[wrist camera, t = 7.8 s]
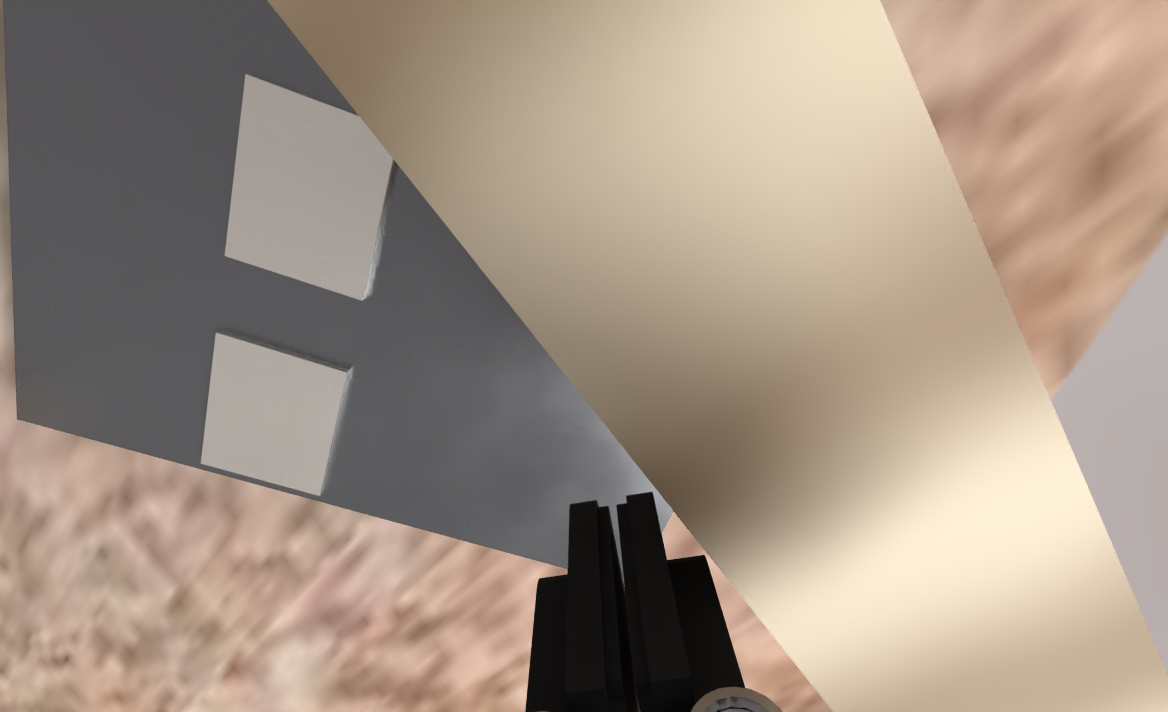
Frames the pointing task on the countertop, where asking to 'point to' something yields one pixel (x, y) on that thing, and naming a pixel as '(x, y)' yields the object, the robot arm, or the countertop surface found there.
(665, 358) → the swing arm
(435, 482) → the label board
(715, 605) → the robot arm
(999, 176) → the countertop surface
